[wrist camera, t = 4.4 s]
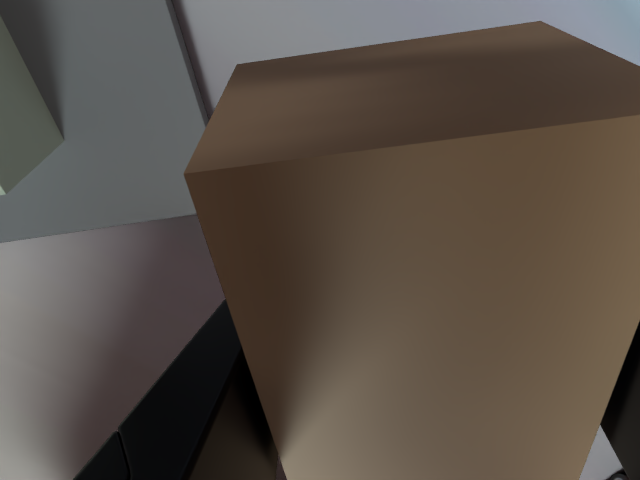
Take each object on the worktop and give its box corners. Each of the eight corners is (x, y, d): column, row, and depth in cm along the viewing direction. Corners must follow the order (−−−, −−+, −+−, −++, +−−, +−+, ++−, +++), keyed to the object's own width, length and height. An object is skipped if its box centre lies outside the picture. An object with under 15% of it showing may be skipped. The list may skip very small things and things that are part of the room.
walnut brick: (305, 365, 11) (304, 529, 8) (237, 64, 7) (183, 173, 4) (496, 345, 11) (567, 509, 8) (540, 21, 7) (722, 104, 4)
